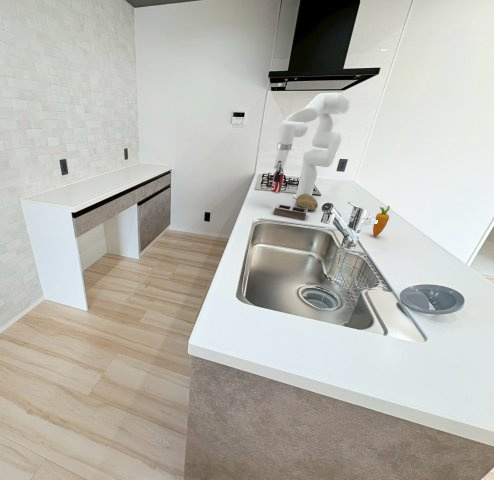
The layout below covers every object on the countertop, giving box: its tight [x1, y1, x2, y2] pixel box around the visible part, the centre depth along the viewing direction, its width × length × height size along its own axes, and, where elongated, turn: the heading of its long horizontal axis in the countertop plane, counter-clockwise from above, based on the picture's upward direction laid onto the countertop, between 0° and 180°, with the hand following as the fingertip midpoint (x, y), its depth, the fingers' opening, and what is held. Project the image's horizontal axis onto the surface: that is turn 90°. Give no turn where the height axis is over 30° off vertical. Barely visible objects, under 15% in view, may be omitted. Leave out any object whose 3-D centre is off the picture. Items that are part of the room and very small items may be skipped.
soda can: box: [270, 170, 285, 194], centre depth 148 cm, size 5×5×12 cm
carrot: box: [372, 205, 391, 237], centre depth 118 cm, size 5×5×15 cm
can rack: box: [273, 203, 309, 221], centre depth 144 cm, size 9×16×4 cm, turn 59°
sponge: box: [295, 194, 319, 211], centre depth 157 cm, size 13×8×20 cm
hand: (277, 180), depth 147 cm, fingers closed on soda can, 5 cm apart
